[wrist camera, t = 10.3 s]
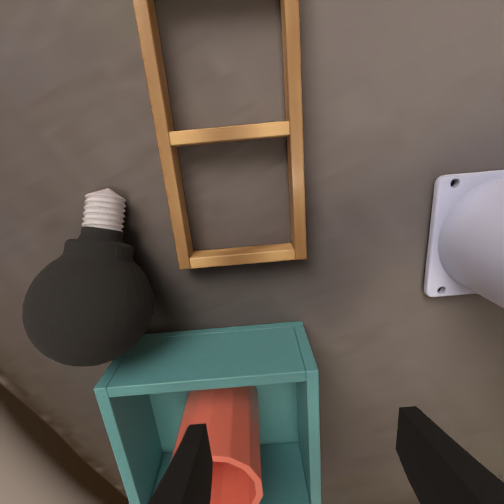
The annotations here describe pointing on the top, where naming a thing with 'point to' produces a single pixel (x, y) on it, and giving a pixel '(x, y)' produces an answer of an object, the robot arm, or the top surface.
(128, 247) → the light bulb
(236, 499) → the cup
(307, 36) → the top surface
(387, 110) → the top surface
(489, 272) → the robot arm
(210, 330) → the open storage box
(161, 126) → the frame
